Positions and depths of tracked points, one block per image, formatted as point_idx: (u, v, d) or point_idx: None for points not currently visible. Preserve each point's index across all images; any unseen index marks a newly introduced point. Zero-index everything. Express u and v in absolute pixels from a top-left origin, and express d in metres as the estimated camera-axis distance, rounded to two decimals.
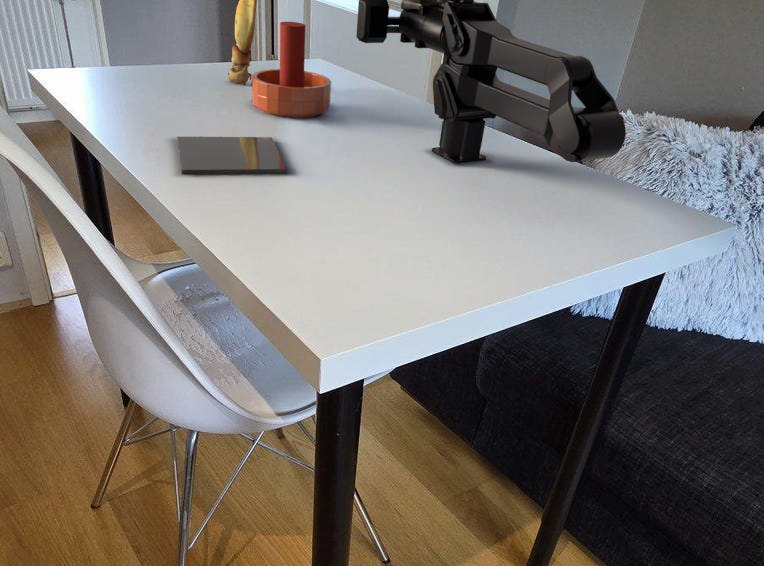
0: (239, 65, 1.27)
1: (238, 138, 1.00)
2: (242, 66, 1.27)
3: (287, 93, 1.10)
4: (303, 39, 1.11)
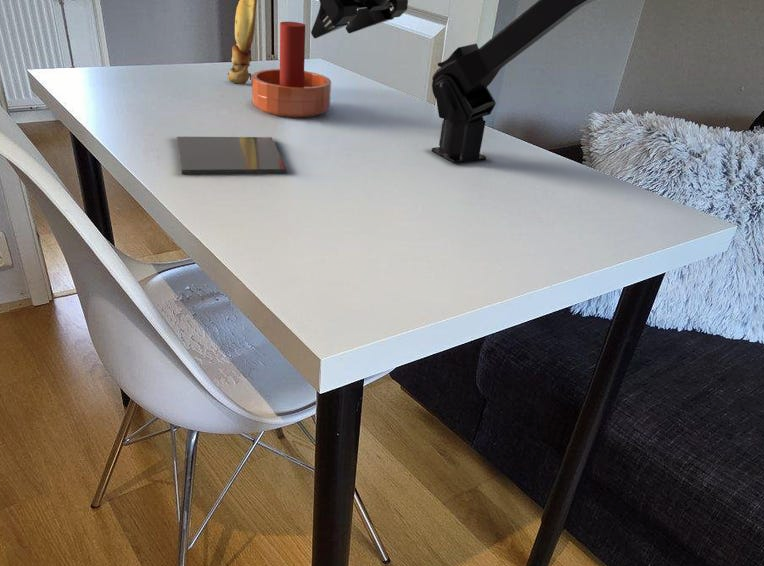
0: (239, 65, 1.27)
1: (238, 138, 1.00)
2: (242, 66, 1.27)
3: (287, 93, 1.10)
4: (303, 39, 1.11)
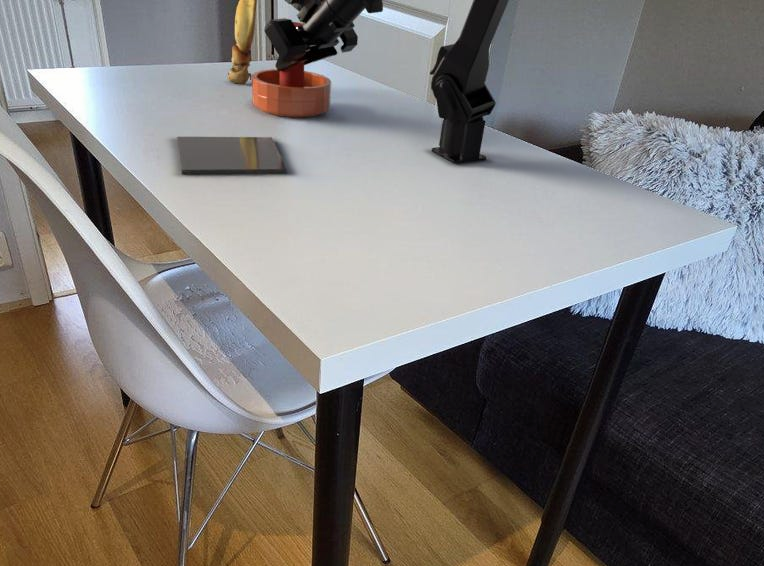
0: (239, 65, 1.27)
1: (238, 138, 1.00)
2: (242, 66, 1.27)
3: (287, 93, 1.10)
4: None
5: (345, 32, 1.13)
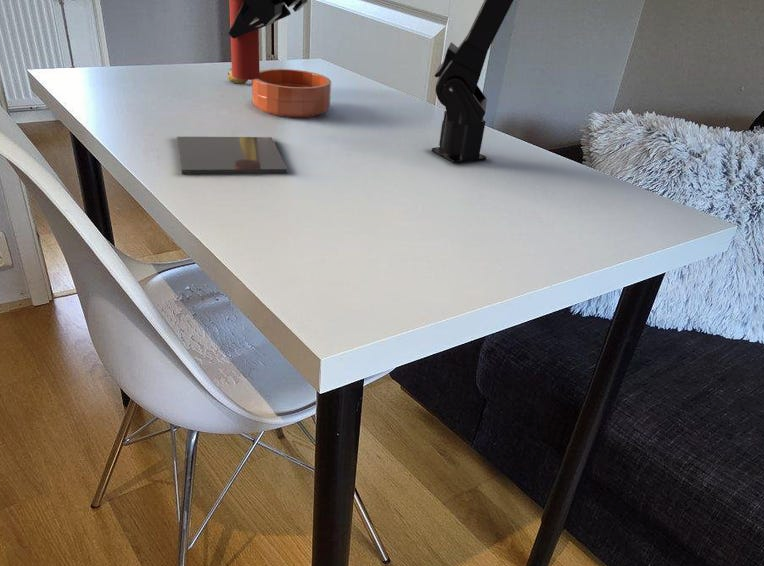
0: None
1: (238, 138, 1.00)
2: None
3: (287, 93, 1.10)
4: None
5: None
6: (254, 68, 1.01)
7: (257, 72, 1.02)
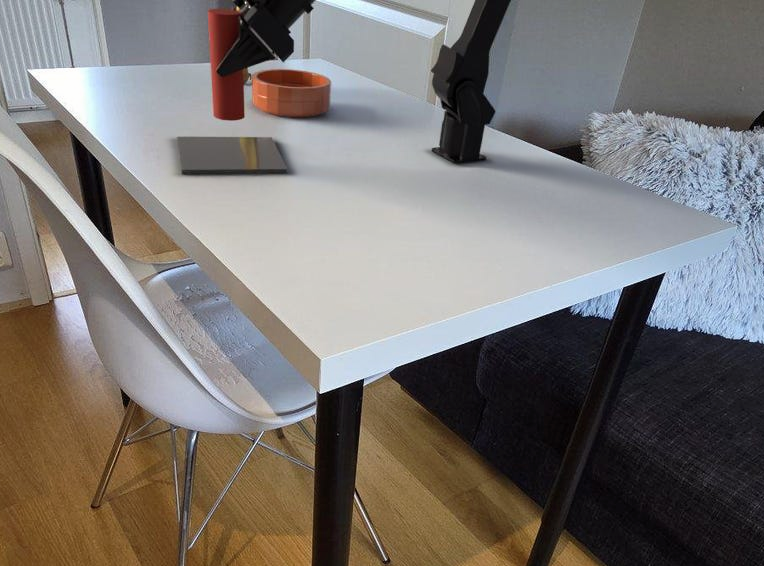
0: None
1: (238, 138, 1.00)
2: None
3: (287, 93, 1.10)
4: None
5: None
6: (242, 107, 0.90)
7: None
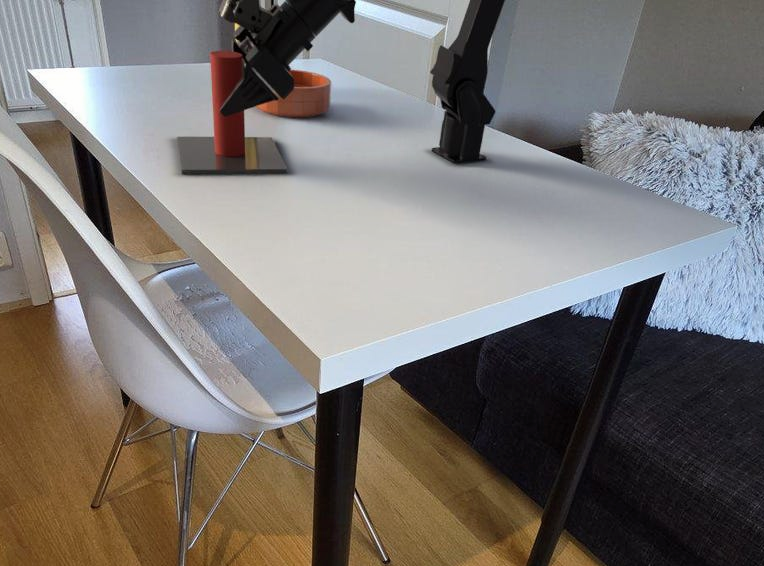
0: None
1: None
2: None
3: None
4: None
5: None
6: (243, 143, 0.93)
7: (244, 146, 0.94)
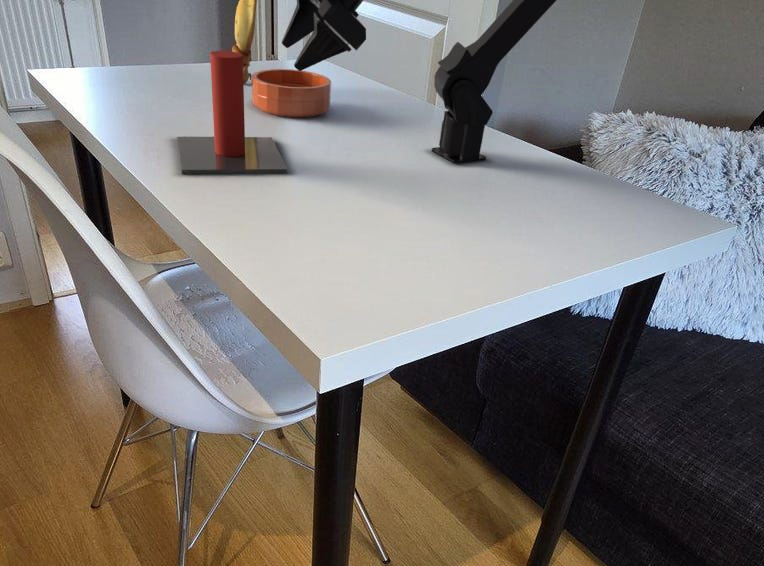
0: None
1: None
2: None
3: (287, 93, 1.10)
4: None
5: None
6: (243, 143, 0.93)
7: (244, 146, 0.94)
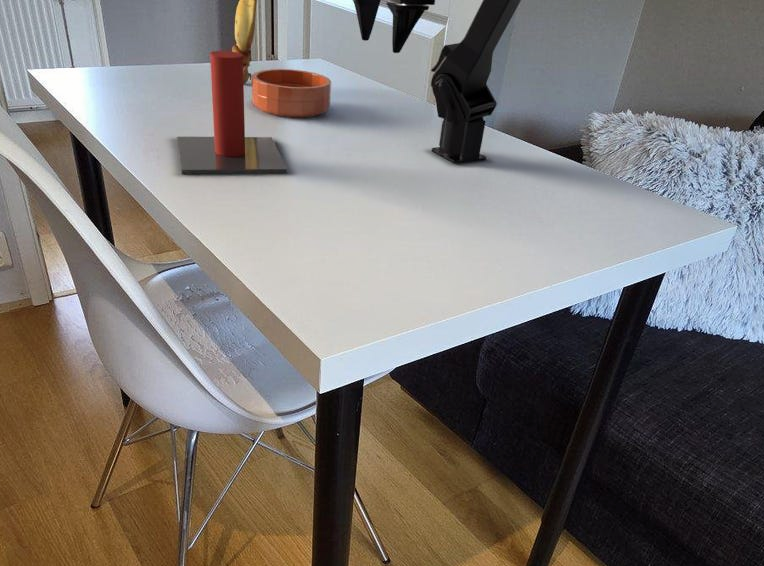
0: None
1: None
2: None
3: (287, 93, 1.10)
4: None
5: None
6: (243, 143, 0.93)
7: (244, 146, 0.94)
